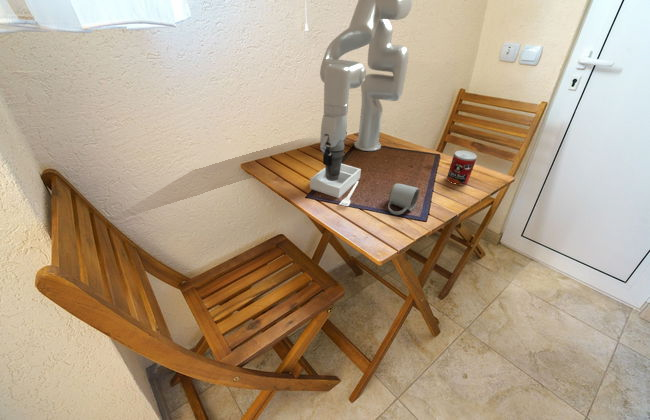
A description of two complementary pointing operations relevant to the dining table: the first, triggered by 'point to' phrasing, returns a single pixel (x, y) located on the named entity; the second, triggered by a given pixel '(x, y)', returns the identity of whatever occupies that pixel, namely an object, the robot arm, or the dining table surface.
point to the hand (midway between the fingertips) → (333, 160)
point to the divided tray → (337, 187)
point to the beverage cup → (335, 161)
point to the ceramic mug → (403, 197)
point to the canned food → (461, 167)
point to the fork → (347, 199)
